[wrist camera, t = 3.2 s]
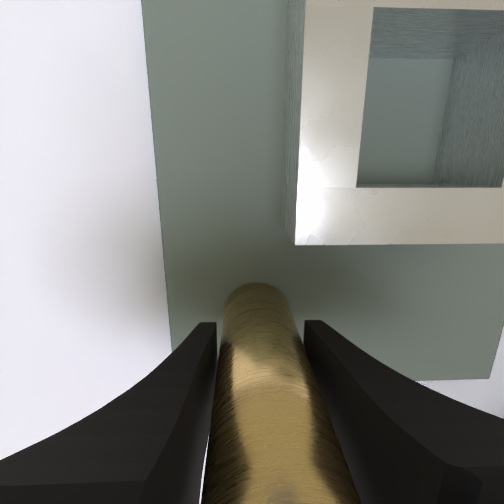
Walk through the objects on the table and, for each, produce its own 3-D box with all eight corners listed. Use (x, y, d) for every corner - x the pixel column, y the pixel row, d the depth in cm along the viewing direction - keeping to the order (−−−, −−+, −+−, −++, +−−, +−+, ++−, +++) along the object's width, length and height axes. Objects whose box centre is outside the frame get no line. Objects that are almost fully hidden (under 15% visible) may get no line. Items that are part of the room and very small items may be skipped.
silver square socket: (510, 3, 10) (631, -73, 7) (464, 225, 12) (540, 243, 9) (287, -2, 10) (309, -84, 7) (280, 226, 12) (294, 245, 9)
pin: (290, 281, 13) (402, 523, 4) (287, 340, 13) (375, 649, 5) (223, 282, 12) (183, 534, 4) (224, 341, 13) (195, 661, 5)
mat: (595, -56, 10) (609, -65, 10) (482, 373, 15) (489, 378, 14) (138, -72, 9) (134, -82, 9) (176, 381, 14) (175, 387, 14)
